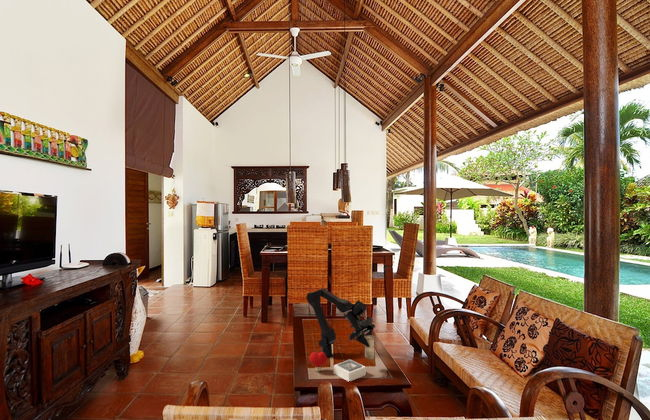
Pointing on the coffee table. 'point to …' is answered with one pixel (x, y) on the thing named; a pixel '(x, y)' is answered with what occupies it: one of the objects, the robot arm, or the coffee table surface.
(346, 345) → the coffee table surface
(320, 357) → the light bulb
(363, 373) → the socket block
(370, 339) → the beech pin
